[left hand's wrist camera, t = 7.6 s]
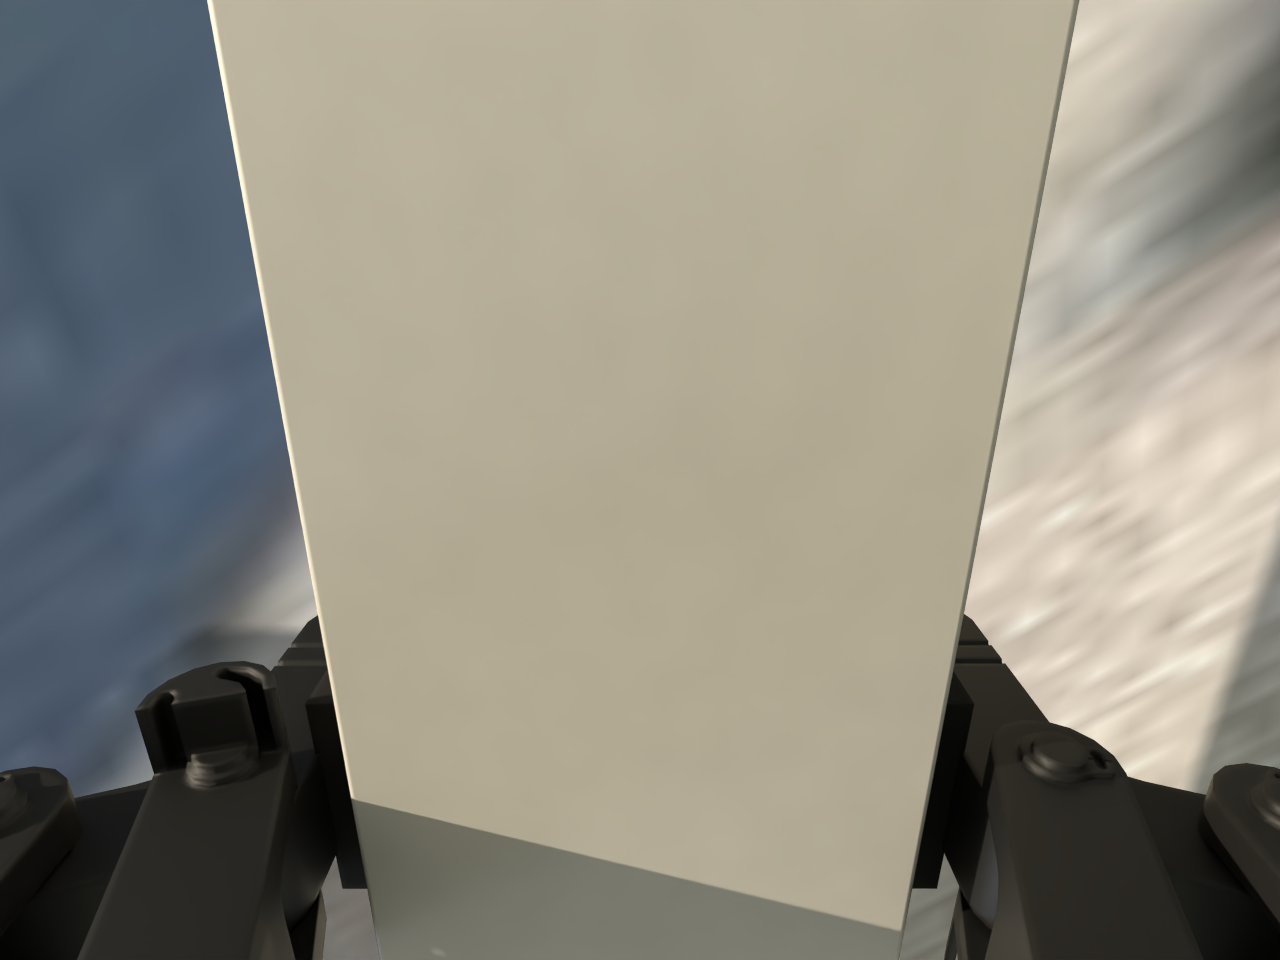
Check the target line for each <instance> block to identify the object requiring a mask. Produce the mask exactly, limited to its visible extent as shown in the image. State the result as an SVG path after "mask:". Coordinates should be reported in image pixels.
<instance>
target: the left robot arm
mask: <svg viewBox="0 0 1280 960" xmlns="http://www.w3.org/2000/svg"><path fill="white" fill-rule="evenodd" d="M135 714H136V717H137V720H138V723H139V726H140V730H141V733H142V736H143V739H144V743H145V746H146V749H147V752H148V756H149V759H150V762H151V765H152V768H153V772H154V776H153V778H152V780H150V781H146V782H143V783H139V784H136V785H132V786H127V787H123V788H118V789H114V790H109V791H105V792H100V793H96V794H91V795H87V796H82V797H78V798H74V796H73V794H72V791H71V788H70V785H69V783H68V780H67V778H66V777H65V776H63V775H62V774H61V773H59V772H58V771H57V770H56V769H50V768H42V767H28V768H21V769H14V770H8V771H4V772H1V773H0V960H322V958H323V948H324V938H325V928H326V912H325V905H324V900H323V895H322V891H321V887H322V885H323V882H324V880H325V878H326V876H327V874H328V871H329V869H330V867H331V865H332V862H333V860H334V858H335V856H336V858H337V863H338V868H339V873H340V878H341V883H342V888H343V889H367V883H366V878H365V872H364V867H363V861H362V856H361V850H360V845H359V839H358V834H357V828H356V822H355V817H354V811H353V806H352V800H351V795H350V789H349V784H348V778H347V772H346V767H345V761H344V756H343V750H342V745H341V739H340V734H339V728H338V723H337V717H336V711H335V706H334V700H333V695H332V689H331V684H330V678H329V673H328V667H327V661H326V656H325V650H324V645H323V639H322V634H321V628H320V623H319V617H318V616H316V617H315V618H313V619H312V620H310V621H309V622H308V623H307V624H306V625H305V627H304V628H303V629H302V631H301V632H300V633H299V635H298V636H297V637H296V639H295V640H294V641H293V643H292V647H291V648H288V649H287V651H286V652H285V653H284V655H283V656H282V657H281V659H280V660H279V661H278V666H275V667H274V668H273V669H272V671H269V670H268V669H267V668H266V667H264V666H263V665H259V664H255V663H250V662H246V661H238V662H220V663H216V664H212V665H208V666H204V667H200V668H196V669H193V670H190V671H188V672H186V673H184V674H181V675H179V676H177V677H174V678H172V679H170V680H168V681H167V682H165V683H164V684H162V685H161V686H159V687H158V688H156V689H155V690H154V691H152V692H151V693H149V694H148V695H147V696H146V697H145V699H144V700H143V701H142V702H141V703H140V705H139V706H138V707H137V708H136V710H135ZM944 853H945V855H946V858H947V860H948V862H949V864H950V866H951V869H952V871H953V873H954V875H955V877H956V880H957V882H958V884H959V891H958V895H957V900H956V904H955V909H954V913H953V918H952V923H951V927H950V932H949V936H948V941H947V945H946V951H945V958H944V960H955V959H956V954H957V956H958V960H1280V769H1278V768H1275V767H1268V766H1262V765H1255V764H1249V763H1244V764H1236V765H1228V766H1224V767H1223V768H1222V769H1221V770H1219V771H1218V772H1217V773H1215V774H1214V775H1213V778H1212V781H1211V783H1210V786H1209V789H1208V792H1207V794H1206V795H1203V794H1199V793H1194V792H1190V791H1185V790H1181V789H1176V788H1172V787H1167V786H1163V785H1158V784H1154V783H1149V782H1145V781H1141V780H1138V779H1134V778H1131V777H1127V774H1126V773H1125V771H1124V770H1123V768H1122V767H1121V765H1120V764H1119V762H1118V761H1117V760H1116V758H1115V757H1114V756H1113V755H1112V754H1111V753H1110V752H1108V751H1107V750H1106V749H1105V748H1103V747H1102V746H1101V745H1100V744H1098V743H1097V742H1096V741H1095V740H1093V739H1091V738H1089V737H1087V736H1085V735H1083V734H1081V733H1079V732H1077V731H1075V730H1073V729H1071V728H1068V727H1064V726H1060V725H1057V724H1053V723H1050V722H1049V721H1048V720H1047V718H1046V717H1045V716H1044V715H1043V713H1042V712H1041V711H1040V709H1039V708H1038V707H1037V705H1036V704H1035V703H1034V701H1033V700H1032V699H1031V697H1030V696H1029V695H1028V693H1027V692H1026V691H1025V689H1024V688H1023V687H1022V685H1021V684H1020V683H1019V681H1018V680H1017V679H1016V677H1015V676H1014V675H1013V673H1012V672H1011V671H1010V669H1009V668H1008V667H1007V665H1006V664H1002V659H1001V657H1000V656H999V655H998V653H997V652H996V651H995V649H994V648H993V647H992V645H988V640H987V639H986V637H985V636H984V635H983V633H982V632H981V631H980V629H979V628H978V627H977V625H976V624H975V623H974V621H973V620H972V619H970V618H969V617H968V616H966V615H965V614H964V615H963V620H962V626H961V631H960V636H959V642H958V647H957V652H956V658H955V663H954V668H953V674H952V679H951V684H950V690H949V695H948V700H947V705H946V711H945V716H944V721H943V727H942V732H941V737H940V743H939V748H938V753H937V759H936V764H935V769H934V775H933V780H932V785H931V790H930V796H929V801H928V806H927V812H926V817H925V822H924V828H923V833H922V838H921V844H920V849H919V854H918V860H917V865H916V870H915V875H914V881H913V886H912V888H929V889H937V885H938V880H939V875H940V870H941V865H942V861H943V856H944Z"/></svg>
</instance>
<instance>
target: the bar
mask: <svg viewBox="0 0 1280 960" xmlns="http://www.w3.org/2000/svg"><path fill="white" fill-rule="evenodd" d="M207 1H208V7H209V12H210V18H211V23H212V29H213V34H214V40H215V45H216V51H217V56H218V62H219V68H220V73H221V79H222V84H223V90H224V95H225V101H226V106H227V112H228V118H229V123H230V129H231V134H232V140H233V145H234V151H235V156H236V162H237V167H238V173H239V179H240V184H241V190H242V195H243V201H244V206H245V212H246V217H247V223H248V229H249V234H250V240H251V245H252V251H253V256H254V262H255V267H256V273H257V278H258V284H259V290H260V295H261V301H262V306H263V312H264V317H265V323H266V328H267V334H268V340H269V345H270V351H271V356H272V362H273V367H274V373H275V378H276V384H277V389H278V395H279V401H280V406H281V412H282V417H283V423H284V428H285V434H286V439H287V445H288V451H289V456H290V462H291V467H292V473H293V478H294V484H295V489H296V495H297V501H298V506H299V512H300V517H301V523H302V528H303V534H304V539H305V545H306V550H307V556H308V562H309V567H310V573H311V578H312V584H313V589H314V595H315V600H316V606H317V612H318V617H319V623H320V628H321V634H322V639H323V645H324V650H325V656H326V661H327V667H328V673H329V678H330V684H331V689H332V695H333V700H334V706H335V711H336V717H337V723H338V728H339V734H340V739H341V745H342V750H343V756H344V761H345V767H346V772H347V778H348V784H349V789H350V795H351V800H352V806H353V811H354V817H355V822H356V828H357V834H358V839H359V845H360V850H361V856H362V861H363V867H364V872H365V878H366V883H367V889H368V895H369V900H370V906H371V911H372V917H373V922H374V928H375V933H376V939H377V945H378V950H379V956H380V960H899V955H900V950H901V945H902V939H903V934H904V929H905V923H906V918H907V913H908V907H909V902H910V897H911V891H912V886H913V881H914V875H915V870H916V865H917V860H918V854H919V849H920V844H921V838H922V833H923V828H924V822H925V817H926V812H927V806H928V801H929V796H930V790H931V785H932V780H933V775H934V769H935V764H936V759H937V753H938V748H939V743H940V737H941V732H942V727H943V721H944V716H945V711H946V705H947V700H948V695H949V690H950V684H951V679H952V674H953V668H954V663H955V658H956V652H957V647H958V642H959V636H960V631H961V626H962V620H963V615H964V610H965V605H966V599H967V594H968V589H969V583H970V578H971V573H972V567H973V562H974V557H975V551H976V546H977V541H978V535H979V530H980V525H981V520H982V514H983V509H984V504H985V498H986V493H987V488H988V482H989V477H990V472H991V466H992V461H993V456H994V450H995V445H996V440H997V435H998V429H999V424H1000V419H1001V413H1002V408H1003V403H1004V397H1005V392H1006V387H1007V381H1008V376H1009V371H1010V365H1011V360H1012V355H1013V350H1014V344H1015V339H1016V334H1017V328H1018V323H1019V318H1020V312H1021V307H1022V302H1023V296H1024V291H1025V286H1026V280H1027V275H1028V270H1029V264H1030V259H1031V254H1032V249H1033V243H1034V238H1035V233H1036V227H1037V222H1038V217H1039V211H1040V206H1041V201H1042V195H1043V190H1044V185H1045V179H1046V174H1047V169H1048V164H1049V158H1050V153H1051V148H1052V142H1053V137H1054V132H1055V126H1056V121H1057V116H1058V110H1059V105H1060V100H1061V94H1062V89H1063V84H1064V79H1065V73H1066V68H1067V63H1068V57H1069V52H1070V47H1071V41H1072V36H1073V31H1074V25H1075V20H1076V15H1077V9H1078V4H1079V0H207Z"/></svg>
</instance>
